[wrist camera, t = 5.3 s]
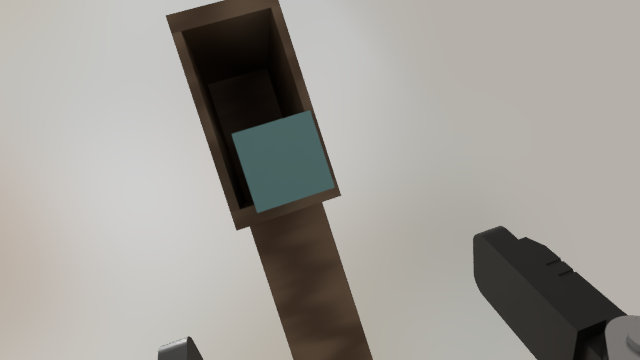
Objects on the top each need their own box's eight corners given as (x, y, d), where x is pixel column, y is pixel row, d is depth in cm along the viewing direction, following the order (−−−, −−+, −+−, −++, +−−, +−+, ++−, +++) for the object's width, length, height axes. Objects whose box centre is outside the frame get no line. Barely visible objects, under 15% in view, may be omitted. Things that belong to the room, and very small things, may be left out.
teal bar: (257, 213, 16) (231, 134, 16) (257, 198, 36) (246, 162, 36) (335, 187, 16) (309, 110, 16) (293, 186, 36) (281, 151, 36)
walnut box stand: (404, 740, 25) (165, 15, 23) (351, 540, 38) (200, 78, 37) (500, 690, 25) (273, -13, 24) (414, 512, 39) (268, 59, 38)
